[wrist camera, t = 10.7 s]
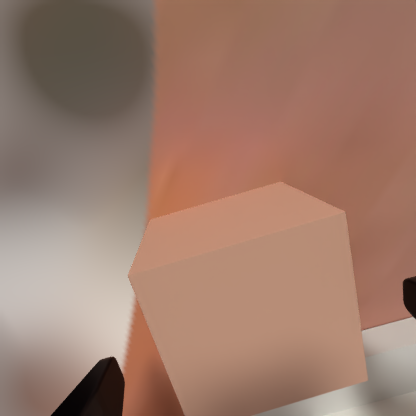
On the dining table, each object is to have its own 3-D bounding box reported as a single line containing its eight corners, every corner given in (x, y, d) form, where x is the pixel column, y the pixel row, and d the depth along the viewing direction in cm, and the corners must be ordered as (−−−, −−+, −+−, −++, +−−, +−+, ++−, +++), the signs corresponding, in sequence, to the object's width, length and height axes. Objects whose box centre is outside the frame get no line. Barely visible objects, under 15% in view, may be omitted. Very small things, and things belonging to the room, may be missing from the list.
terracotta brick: (279, 181, 12) (345, 212, 7) (302, 293, 14) (368, 380, 9) (150, 218, 12) (127, 275, 7) (189, 327, 13) (192, 433, 9)
